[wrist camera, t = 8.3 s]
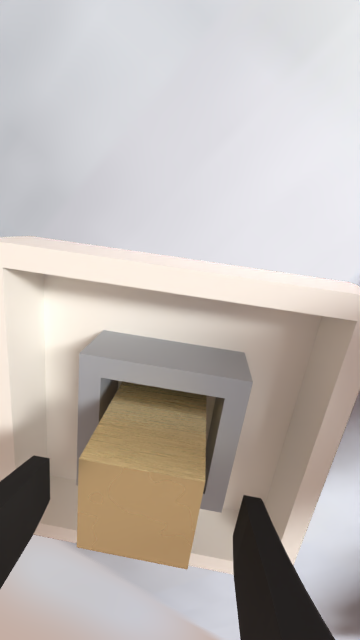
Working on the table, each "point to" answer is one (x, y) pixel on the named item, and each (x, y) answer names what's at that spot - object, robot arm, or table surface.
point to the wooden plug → (144, 476)
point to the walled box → (178, 373)
